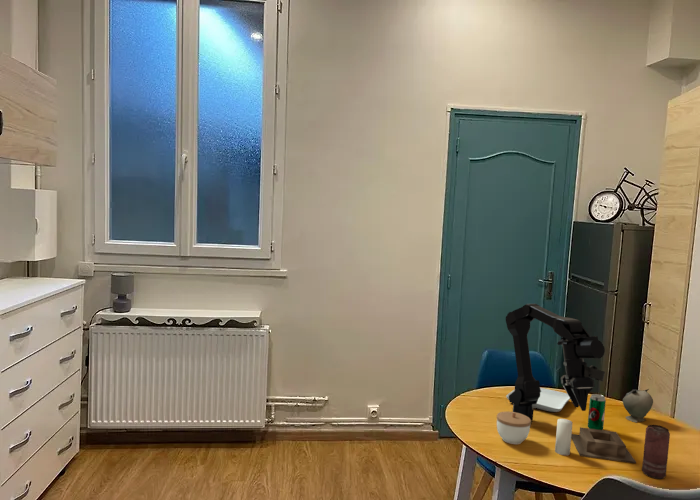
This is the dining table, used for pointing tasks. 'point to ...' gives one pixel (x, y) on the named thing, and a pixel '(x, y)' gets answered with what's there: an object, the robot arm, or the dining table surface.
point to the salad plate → (549, 400)
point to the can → (656, 451)
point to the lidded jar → (513, 427)
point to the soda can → (596, 412)
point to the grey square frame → (601, 445)
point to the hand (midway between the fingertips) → (580, 409)
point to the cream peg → (563, 437)
